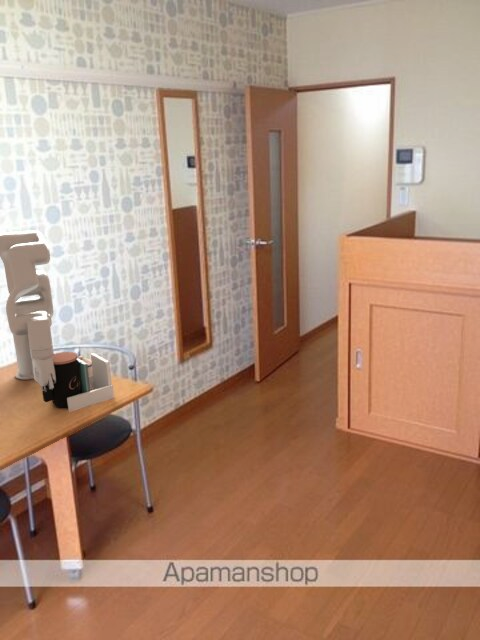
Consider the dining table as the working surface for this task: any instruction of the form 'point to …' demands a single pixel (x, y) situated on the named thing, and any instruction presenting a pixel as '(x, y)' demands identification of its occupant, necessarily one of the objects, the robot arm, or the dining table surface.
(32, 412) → the dining table surface
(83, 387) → the plate
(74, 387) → the coffee jar
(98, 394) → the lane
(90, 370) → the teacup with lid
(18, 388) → the dining table surface
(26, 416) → the dining table surface
